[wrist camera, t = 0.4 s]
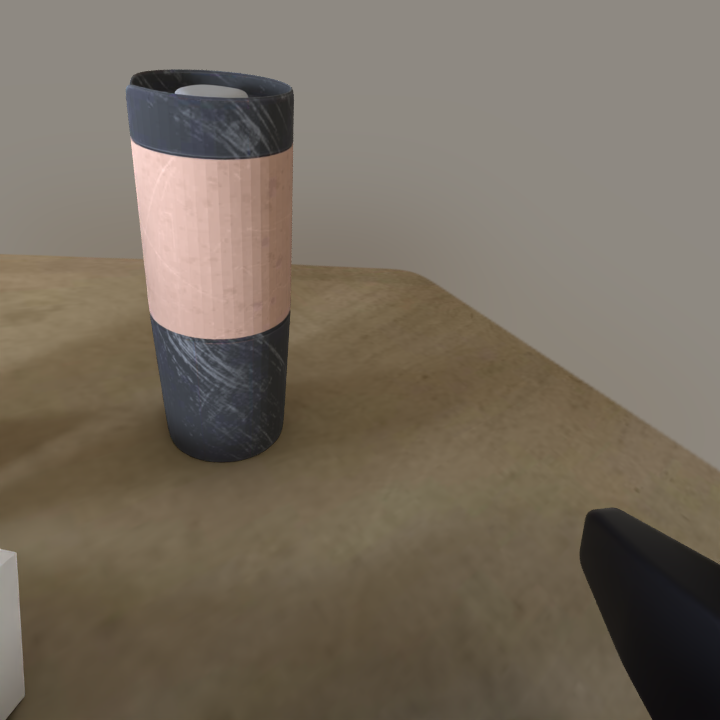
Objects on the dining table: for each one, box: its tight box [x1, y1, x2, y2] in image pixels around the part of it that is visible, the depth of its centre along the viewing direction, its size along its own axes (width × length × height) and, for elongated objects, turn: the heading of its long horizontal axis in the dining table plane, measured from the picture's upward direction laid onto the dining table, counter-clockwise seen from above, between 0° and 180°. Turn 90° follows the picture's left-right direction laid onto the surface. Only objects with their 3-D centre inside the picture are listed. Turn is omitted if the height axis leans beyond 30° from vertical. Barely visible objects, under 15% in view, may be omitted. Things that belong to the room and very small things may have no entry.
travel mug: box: [126, 70, 294, 462], centre depth 32 cm, size 8×8×20 cm
